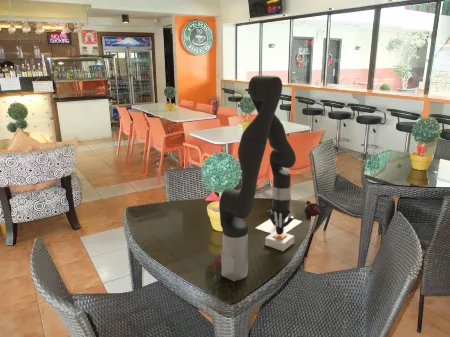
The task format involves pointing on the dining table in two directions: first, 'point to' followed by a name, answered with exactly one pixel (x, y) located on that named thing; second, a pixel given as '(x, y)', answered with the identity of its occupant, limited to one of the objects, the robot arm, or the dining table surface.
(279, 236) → the button
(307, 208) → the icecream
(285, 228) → the paper
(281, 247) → the button housing
